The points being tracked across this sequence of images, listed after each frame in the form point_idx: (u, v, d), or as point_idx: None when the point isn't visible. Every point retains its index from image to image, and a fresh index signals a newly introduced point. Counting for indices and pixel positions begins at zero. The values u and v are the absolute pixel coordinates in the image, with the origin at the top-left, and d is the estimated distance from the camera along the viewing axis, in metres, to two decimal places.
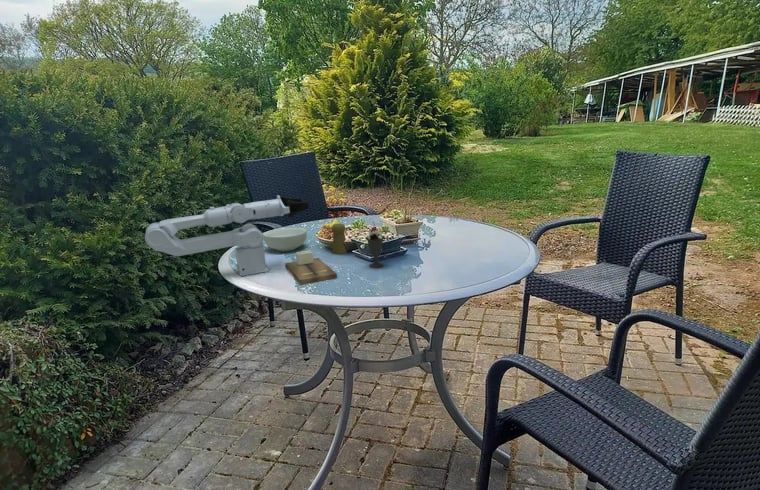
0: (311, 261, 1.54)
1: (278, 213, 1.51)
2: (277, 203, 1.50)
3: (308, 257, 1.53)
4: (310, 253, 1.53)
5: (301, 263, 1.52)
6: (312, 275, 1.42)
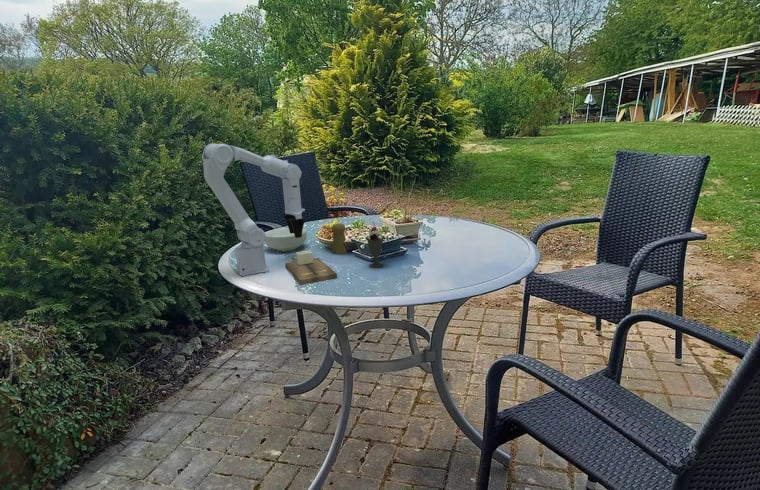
0: (311, 261, 1.54)
1: (290, 209, 1.56)
2: (299, 208, 1.57)
3: (308, 257, 1.53)
4: (310, 253, 1.53)
5: (301, 263, 1.52)
6: (312, 275, 1.42)
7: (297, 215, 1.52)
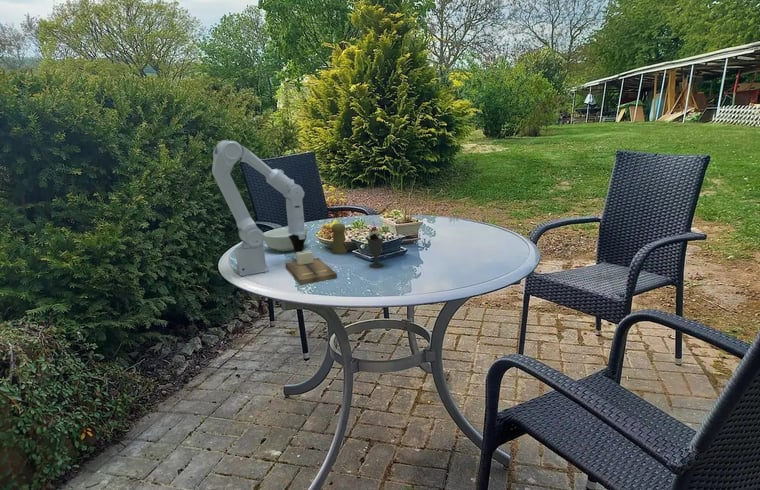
0: (311, 261, 1.54)
1: (293, 229, 1.56)
2: (303, 228, 1.57)
3: (308, 257, 1.53)
4: (310, 253, 1.53)
5: (301, 263, 1.52)
6: (312, 275, 1.42)
7: (300, 235, 1.52)
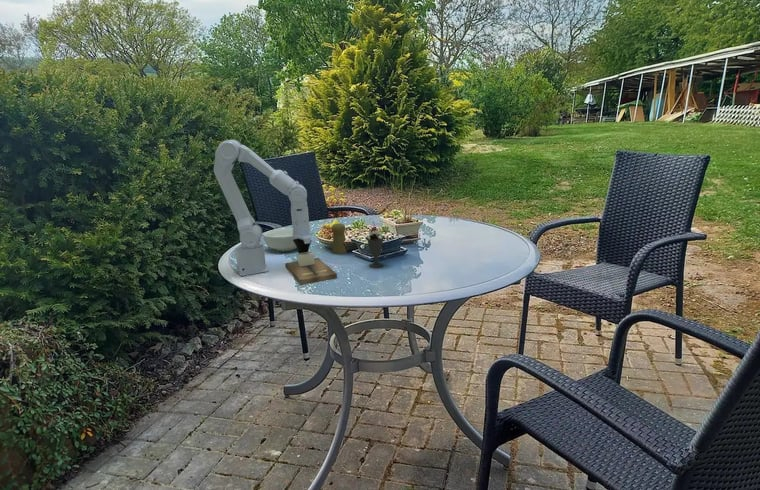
0: (312, 262, 1.52)
1: (298, 233, 1.50)
2: (308, 231, 1.52)
3: (309, 259, 1.52)
4: (311, 254, 1.52)
5: (302, 264, 1.51)
6: (312, 275, 1.42)
7: (306, 239, 1.47)
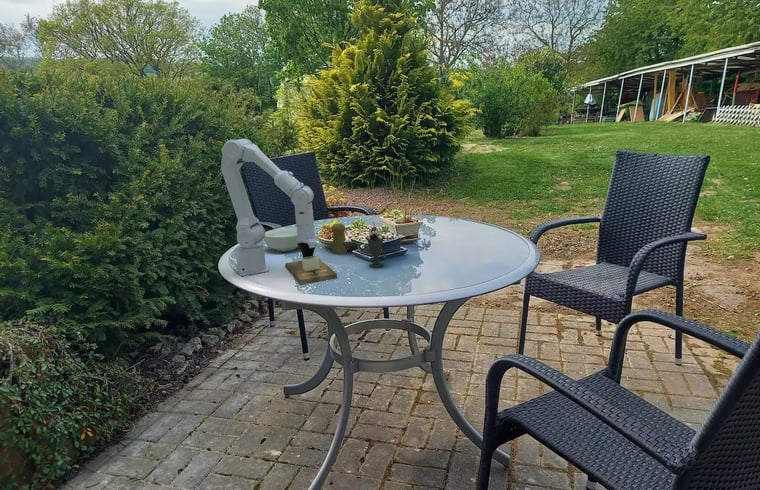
0: (317, 267, 1.47)
1: (303, 236, 1.45)
2: (313, 235, 1.46)
3: (314, 263, 1.47)
4: (316, 259, 1.47)
5: (307, 269, 1.46)
6: (312, 275, 1.42)
7: (311, 243, 1.41)
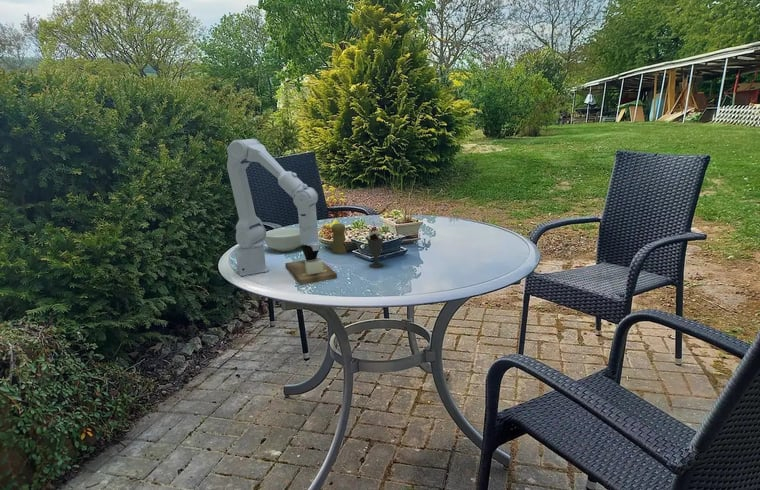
0: (321, 270, 1.44)
1: (306, 239, 1.42)
2: (316, 238, 1.43)
3: (318, 266, 1.43)
4: (320, 262, 1.43)
5: (310, 272, 1.42)
6: (312, 275, 1.42)
7: (314, 246, 1.38)
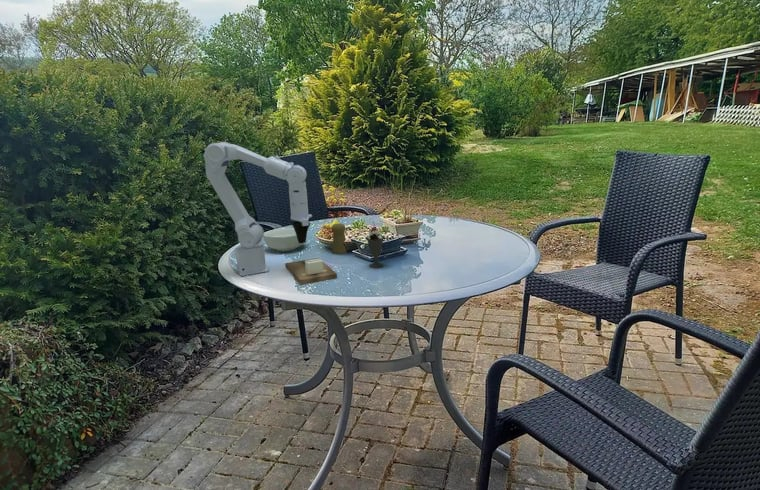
0: (321, 270, 1.44)
1: (296, 215, 1.46)
2: (306, 214, 1.47)
3: (318, 266, 1.43)
4: (320, 262, 1.43)
5: (310, 272, 1.42)
6: (312, 275, 1.42)
7: (304, 222, 1.42)
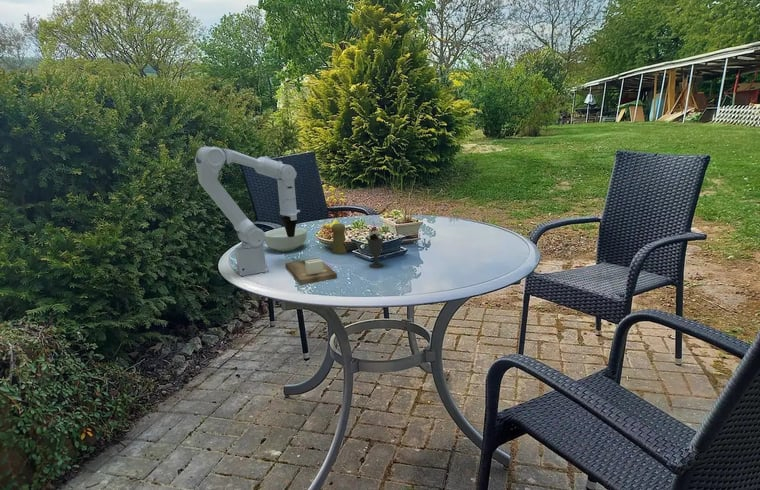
0: (321, 270, 1.44)
1: (285, 210, 1.54)
2: (295, 209, 1.56)
3: (318, 266, 1.43)
4: (320, 262, 1.43)
5: (310, 272, 1.42)
6: (312, 275, 1.42)
7: (292, 216, 1.51)
